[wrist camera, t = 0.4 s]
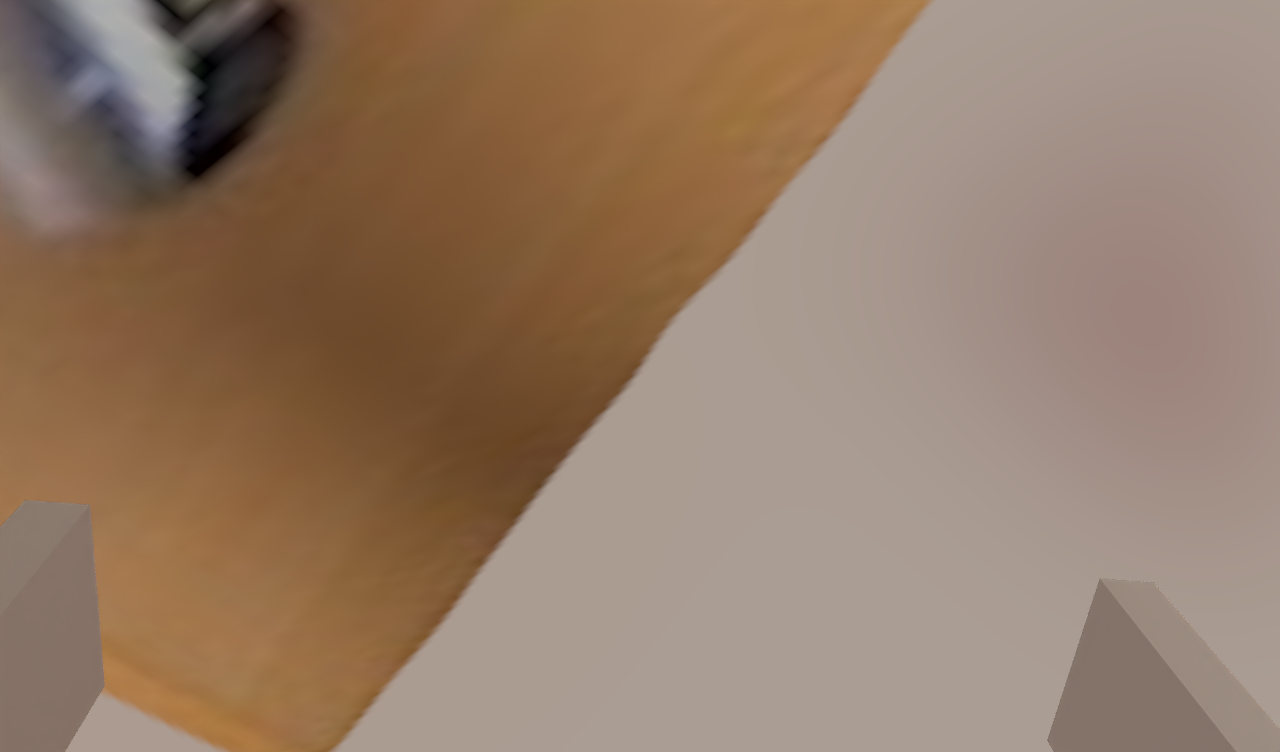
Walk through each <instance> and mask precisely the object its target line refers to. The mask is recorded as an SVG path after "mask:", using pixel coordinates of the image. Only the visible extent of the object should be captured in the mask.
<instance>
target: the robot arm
mask: <svg viewBox="0 0 1280 752" xmlns="http://www.w3.org/2000/svg"><path fill="white" fill-rule="evenodd" d="M104 686H105V684H104V672H103V659H102V647H101V635H100V622H99V610H98V598H97V585H96V573H95V561H94V548H93V536H92V523H91V511H90V505H86V504H72V503H59V502H45V501H31V500H25V501H24V502H23V503H22V504H21V505H20V506H19V507H18V508H17V510H16V511H15V512H14V513H13V514H12V515H11V516H10V517H9V518H8V519H7V520H6V521H5V522H4V524H3V525H2V526H1V527H0V752H65V751H66V749H67V747H68V746H69V744H70V742H71V740H72V739H73V737H74V736H75V734H76V732H77V731H78V729H79V727H80V726H81V724H82V722H83V721H84V719H85V717H86V716H87V714H88V713H89V711H90V709H91V707H92V706H93V704H94V702H95V701H96V699H97V697H98V696H99V694H100V693H101V691H102V689H103V688H104ZM1048 742H1049V744H1050V746H1051V747H1052V749H1053V751H1054V752H1280V729H1279V727H1278V726H1277V725H1276V724H1275V723H1274V722H1273V720H1271V718H1270V717H1269V716H1268V715H1267V714H1266V712H1265V711H1264V710H1263V709H1262V708H1261V707H1260V706H1259V704H1258V703H1257V702H1256V701H1255V700H1254V698H1253V697H1252V696H1251V695H1250V694H1249V693H1248V691H1247V690H1246V689H1245V688H1244V687H1243V686H1242V684H1241V683H1240V682H1239V681H1238V680H1237V679H1236V678H1235V676H1234V675H1233V674H1232V673H1231V672H1230V671H1229V669H1228V668H1227V667H1226V666H1225V665H1224V664H1223V662H1222V661H1221V660H1220V659H1219V658H1218V657H1217V656H1216V654H1215V653H1214V652H1213V651H1212V650H1211V649H1210V647H1209V646H1208V645H1207V644H1206V643H1205V642H1204V641H1203V639H1202V638H1201V637H1200V636H1199V635H1198V633H1197V632H1196V631H1195V630H1194V629H1193V628H1192V627H1191V625H1190V624H1189V623H1188V622H1187V621H1186V620H1185V618H1184V617H1183V616H1182V615H1181V614H1180V613H1179V611H1178V610H1177V609H1176V608H1175V607H1174V606H1173V604H1172V603H1171V602H1170V601H1169V600H1168V599H1167V597H1165V595H1164V594H1163V593H1162V592H1161V591H1160V590H1159V588H1158V587H1157V586H1156V585H1155V584H1154V583H1153V582H1141V581H1127V580H1114V579H1100V580H1099V583H1098V586H1097V589H1096V592H1095V595H1094V598H1093V601H1092V604H1091V607H1090V610H1089V614H1088V617H1087V620H1086V623H1085V626H1084V629H1083V632H1082V635H1081V638H1080V641H1079V644H1078V647H1077V651H1076V654H1075V657H1074V660H1073V663H1072V666H1071V669H1070V672H1069V675H1068V678H1067V681H1066V684H1065V687H1064V691H1063V694H1062V697H1061V700H1060V703H1059V706H1058V709H1057V712H1056V715H1055V718H1054V721H1053V724H1052V727H1051V731H1050V734H1049V737H1048Z"/></svg>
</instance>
